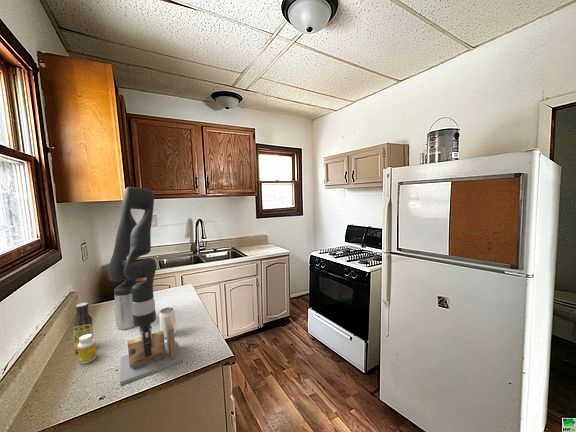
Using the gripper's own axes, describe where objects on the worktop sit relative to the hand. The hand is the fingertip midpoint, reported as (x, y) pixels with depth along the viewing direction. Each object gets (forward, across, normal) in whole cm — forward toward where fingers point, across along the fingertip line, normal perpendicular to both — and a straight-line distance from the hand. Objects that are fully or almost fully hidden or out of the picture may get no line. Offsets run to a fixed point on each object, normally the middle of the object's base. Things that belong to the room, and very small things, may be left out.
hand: (147, 350), depth 95 cm
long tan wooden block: (+4, 0, 0) cm, 4 cm away
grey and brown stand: (+5, 0, 0) cm, 5 cm away
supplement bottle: (+5, +16, +20) cm, 26 cm away
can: (+5, +16, -9) cm, 19 cm away
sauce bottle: (+5, +26, +22) cm, 34 cm away
